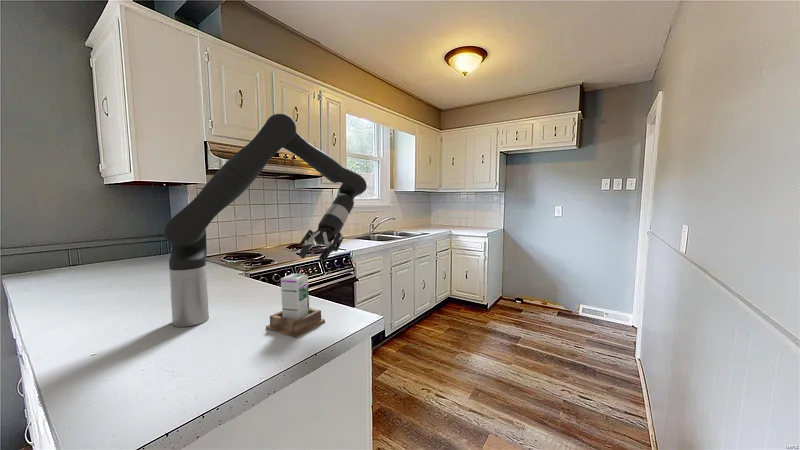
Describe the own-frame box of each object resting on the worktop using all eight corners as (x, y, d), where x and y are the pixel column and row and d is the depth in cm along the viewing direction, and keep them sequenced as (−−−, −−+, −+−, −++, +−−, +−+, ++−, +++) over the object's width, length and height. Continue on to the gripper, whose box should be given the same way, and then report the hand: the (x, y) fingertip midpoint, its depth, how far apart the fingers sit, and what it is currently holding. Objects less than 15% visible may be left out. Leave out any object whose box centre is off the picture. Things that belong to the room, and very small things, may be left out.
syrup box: (299, 327, 89) (298, 278, 87) (281, 325, 90) (280, 277, 89) (309, 319, 94) (308, 274, 93) (293, 317, 96) (291, 272, 94)
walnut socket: (265, 328, 89) (265, 316, 89) (296, 314, 100) (296, 303, 100) (295, 337, 84) (295, 324, 84) (325, 321, 95) (324, 310, 94)
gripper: (312, 212, 106) (288, 249, 97) (345, 213, 100) (322, 254, 91) (323, 225, 111) (300, 262, 102) (355, 228, 105) (334, 267, 96)
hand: (311, 258), depth 97 cm, fingers open, 8 cm apart
